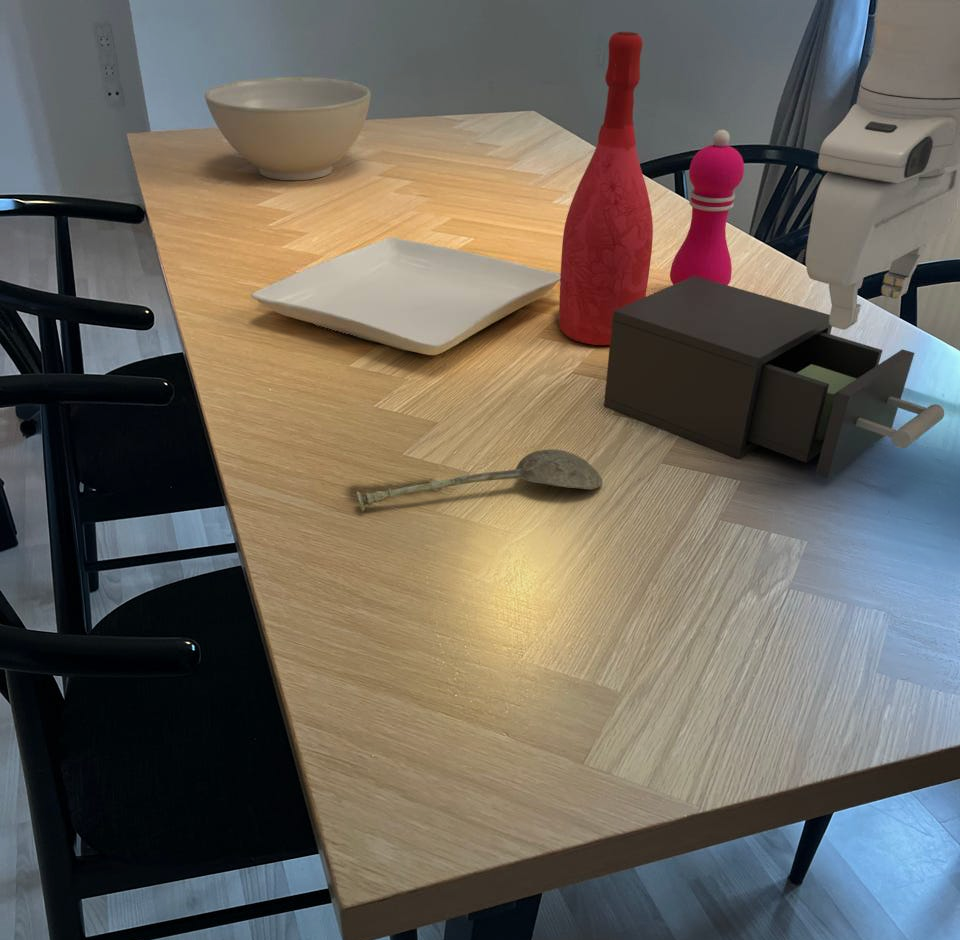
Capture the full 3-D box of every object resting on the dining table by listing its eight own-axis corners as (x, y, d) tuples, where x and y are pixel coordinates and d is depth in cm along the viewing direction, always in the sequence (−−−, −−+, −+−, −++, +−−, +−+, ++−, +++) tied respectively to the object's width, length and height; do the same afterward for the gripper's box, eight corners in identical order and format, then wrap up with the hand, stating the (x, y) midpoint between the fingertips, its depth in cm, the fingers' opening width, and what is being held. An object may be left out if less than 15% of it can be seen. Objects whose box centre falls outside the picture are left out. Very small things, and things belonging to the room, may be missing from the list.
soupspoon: (612, 503, 86) (586, 470, 91) (617, 468, 84) (590, 436, 89) (364, 528, 80) (351, 492, 86) (362, 491, 78) (349, 456, 84)
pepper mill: (731, 305, 121) (762, 126, 108) (716, 325, 116) (748, 140, 103) (674, 296, 123) (699, 120, 111) (658, 315, 118) (681, 133, 106)
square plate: (565, 302, 121) (567, 270, 119) (437, 379, 103) (437, 343, 101) (391, 260, 133) (390, 230, 130) (249, 322, 115) (245, 289, 112)
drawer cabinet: (811, 411, 99) (835, 316, 92) (738, 459, 91) (759, 358, 84) (680, 365, 107) (694, 275, 101) (603, 406, 99) (612, 310, 93)
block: (857, 378, 89) (811, 363, 91) (833, 394, 86) (786, 378, 89) (844, 424, 92) (800, 409, 94) (820, 441, 89) (776, 425, 92)
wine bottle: (619, 356, 109) (652, 43, 90) (541, 337, 112) (558, 33, 93) (655, 328, 115) (693, 30, 96) (580, 310, 119) (603, 21, 100)
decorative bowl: (376, 152, 179) (372, 76, 171) (373, 192, 158) (368, 108, 150) (228, 152, 177) (217, 76, 170) (205, 193, 157) (192, 109, 149)
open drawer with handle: (941, 449, 91) (969, 368, 86) (880, 500, 83) (907, 415, 78) (756, 385, 101) (771, 310, 96) (687, 426, 94) (700, 346, 89)
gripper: (929, 104, 82) (887, 271, 91) (808, 148, 71) (774, 334, 79) (1005, 114, 79) (954, 286, 87) (892, 162, 67) (846, 355, 76)
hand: (868, 310), depth 83 cm, fingers open, 8 cm apart
